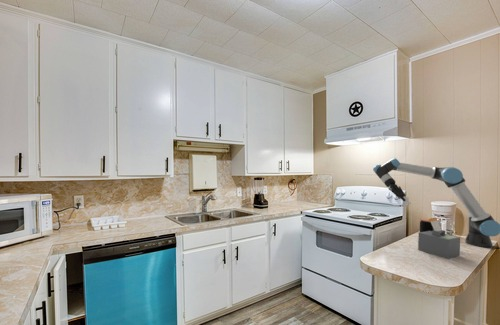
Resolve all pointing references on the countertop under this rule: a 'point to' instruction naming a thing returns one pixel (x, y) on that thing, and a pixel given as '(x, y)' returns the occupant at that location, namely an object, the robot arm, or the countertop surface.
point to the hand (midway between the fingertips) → (408, 204)
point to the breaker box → (439, 244)
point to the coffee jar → (425, 225)
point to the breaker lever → (435, 225)
